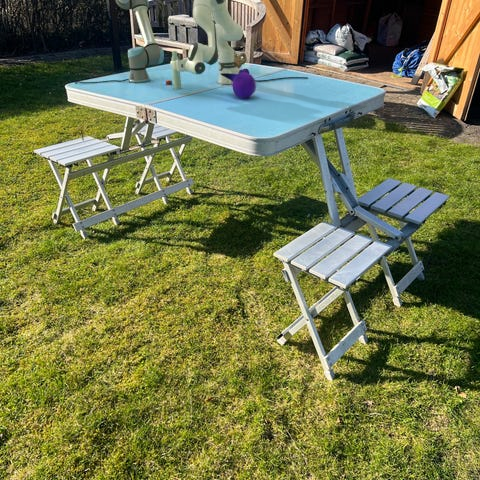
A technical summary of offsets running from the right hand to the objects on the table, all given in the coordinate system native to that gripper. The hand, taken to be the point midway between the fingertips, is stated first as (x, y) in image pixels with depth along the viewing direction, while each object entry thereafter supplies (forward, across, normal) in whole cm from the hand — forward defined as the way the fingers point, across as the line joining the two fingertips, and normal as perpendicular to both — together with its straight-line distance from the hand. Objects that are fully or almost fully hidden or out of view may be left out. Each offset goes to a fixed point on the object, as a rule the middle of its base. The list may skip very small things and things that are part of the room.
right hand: (181, 61), depth 296 cm
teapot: (+51, -67, +19) cm, 86 cm away
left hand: (+29, 0, -18) cm, 34 cm away
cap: (+29, 0, +17) cm, 34 cm away
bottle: (+11, 0, +19) cm, 22 cm away
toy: (-33, -25, +19) cm, 46 cm away
